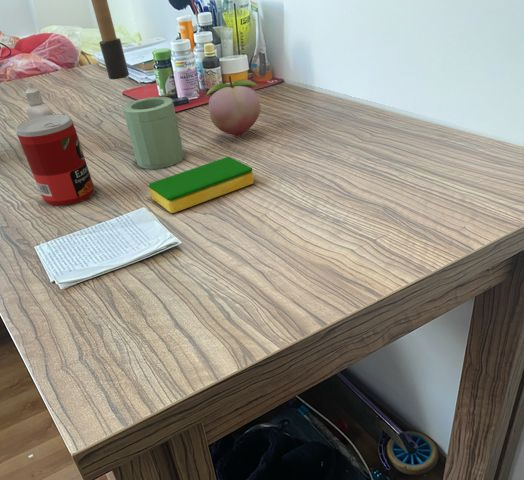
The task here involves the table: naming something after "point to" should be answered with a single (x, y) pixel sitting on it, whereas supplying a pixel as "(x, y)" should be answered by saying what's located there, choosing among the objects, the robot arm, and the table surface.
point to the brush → (110, 42)
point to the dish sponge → (201, 184)
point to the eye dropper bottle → (36, 103)
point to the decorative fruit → (234, 106)
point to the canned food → (56, 159)
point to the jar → (154, 132)
